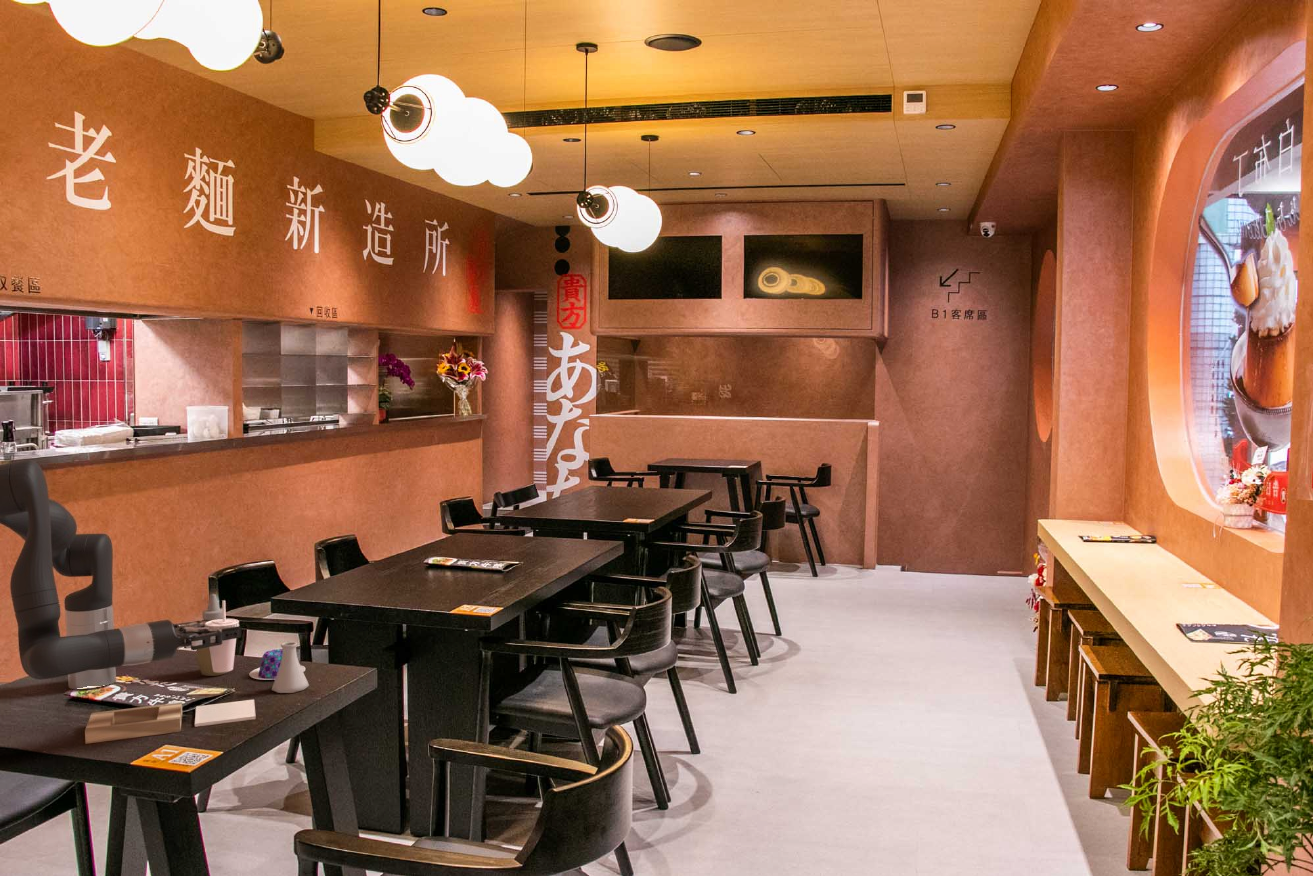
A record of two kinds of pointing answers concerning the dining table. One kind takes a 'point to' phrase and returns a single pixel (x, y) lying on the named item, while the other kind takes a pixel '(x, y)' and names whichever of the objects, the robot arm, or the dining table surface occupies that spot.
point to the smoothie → (225, 652)
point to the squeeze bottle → (204, 654)
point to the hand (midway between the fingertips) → (233, 628)
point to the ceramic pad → (225, 713)
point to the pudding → (269, 665)
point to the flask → (289, 671)
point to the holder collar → (160, 717)
